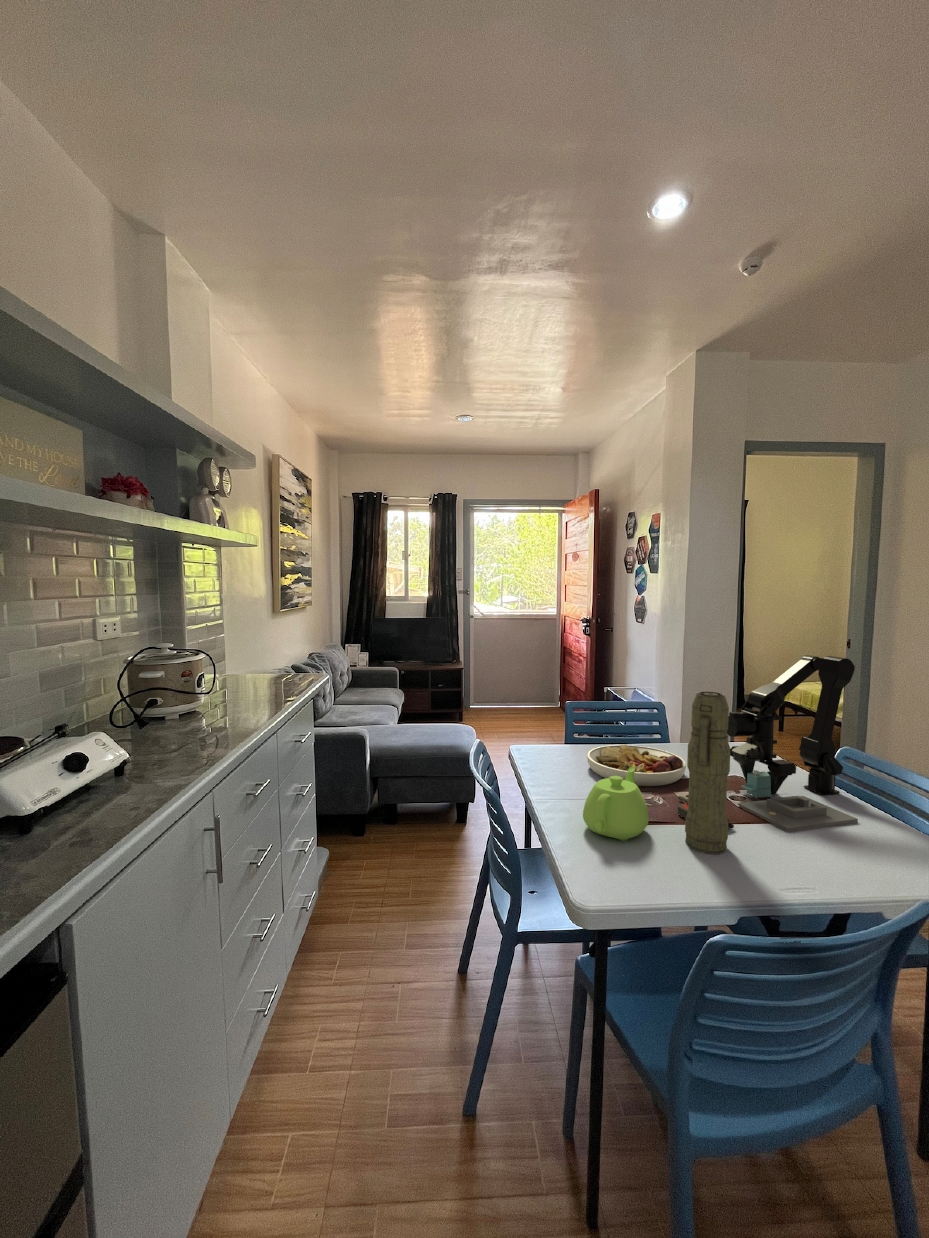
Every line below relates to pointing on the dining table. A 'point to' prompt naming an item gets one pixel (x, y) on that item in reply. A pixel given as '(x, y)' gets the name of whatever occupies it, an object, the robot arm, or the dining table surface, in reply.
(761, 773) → the servo
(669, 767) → the bowl
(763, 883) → the dining table surface
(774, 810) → the plate
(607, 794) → the teapot
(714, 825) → the thermos
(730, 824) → the walkie-talkie
